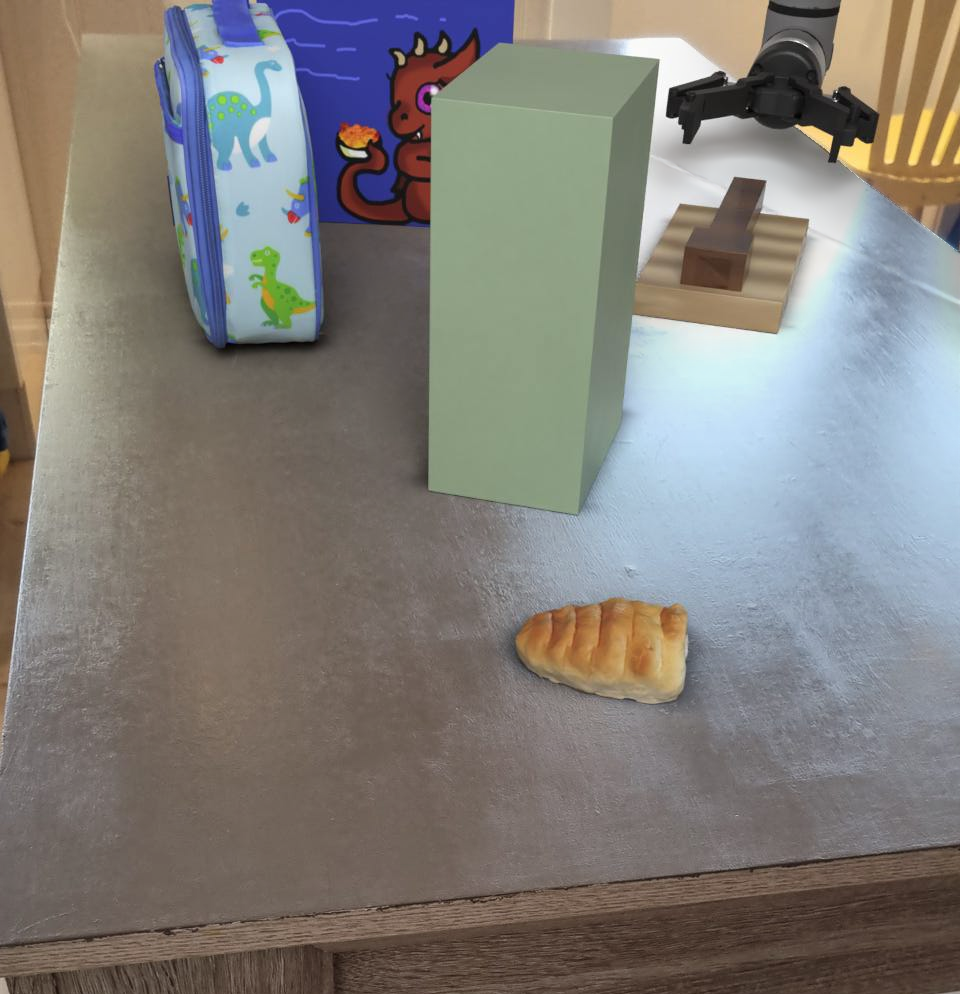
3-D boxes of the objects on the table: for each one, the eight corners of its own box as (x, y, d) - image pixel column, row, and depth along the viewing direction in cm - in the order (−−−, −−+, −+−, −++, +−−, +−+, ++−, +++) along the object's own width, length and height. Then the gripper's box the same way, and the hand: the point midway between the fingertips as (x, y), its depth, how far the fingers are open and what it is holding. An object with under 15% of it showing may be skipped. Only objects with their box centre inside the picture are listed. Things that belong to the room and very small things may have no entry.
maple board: (676, 231, 129) (679, 203, 127) (804, 247, 126) (809, 218, 125) (631, 314, 113) (635, 283, 111) (777, 334, 111) (783, 302, 109)
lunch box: (173, 253, 120) (141, -28, 106) (295, 247, 122) (280, -29, 108) (192, 374, 101) (156, 53, 87) (336, 365, 103) (324, 50, 89)
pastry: (508, 695, 72) (512, 633, 70) (519, 626, 77) (523, 567, 75) (686, 711, 72) (696, 649, 69) (686, 641, 77) (695, 581, 74)
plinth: (485, 404, 99) (498, 42, 83) (620, 424, 97) (659, 58, 82) (428, 491, 89) (431, 97, 73) (577, 515, 87) (613, 117, 72)
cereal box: (505, 209, 132) (522, -180, 111) (504, 230, 127) (521, -171, 107) (280, 199, 132) (256, -192, 112) (270, 219, 127) (244, -184, 107)
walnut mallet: (719, 203, 127) (723, 169, 125) (772, 210, 126) (778, 175, 124) (679, 284, 111) (684, 245, 109) (741, 292, 110) (747, 253, 108)
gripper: (898, 135, 142) (887, 198, 127) (661, 106, 146) (623, 163, 131) (917, 53, 137) (908, 109, 122) (671, 25, 141) (633, 76, 126)
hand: (761, 137), depth 126 cm, fingers open, 13 cm apart
